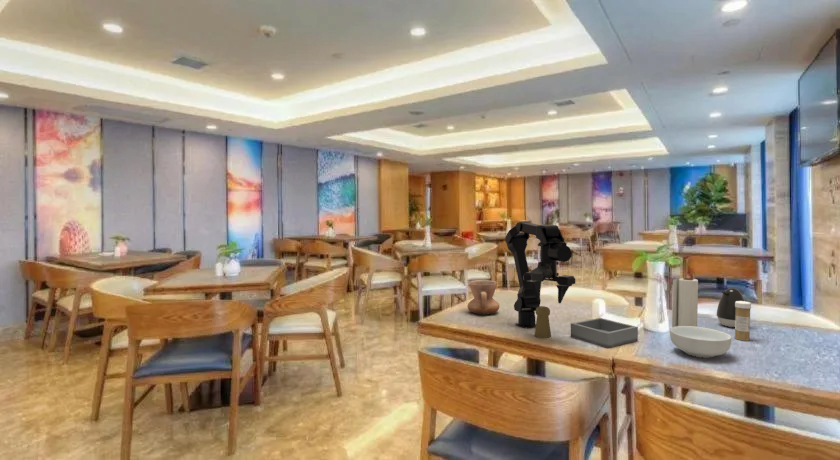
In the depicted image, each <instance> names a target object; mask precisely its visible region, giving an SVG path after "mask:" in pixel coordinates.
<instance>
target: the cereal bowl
mask: <svg viewBox="0 0 840 460" xmlns="http://www.w3.org/2000/svg"><path fill="white" fill-rule="evenodd" d="M669 335H670V336H669V337H670V341H671V342H672V344H673V345H674V346H675V347H676V348H677V349H679V350H680V351H683V352H684V353H685V354H686V355H689V356H691V355H692V357H695V356H696V357H697V358H702V357H703V359H704V358H705V359H708V358H709V359H711V358H713V357H715V356H721V355H722V356H723V355H724V354H726V353H727V352H728V351H729V350H730V348H731V346H732V336H731V335H730V334H728V333H726V332H723V331H721V330H716V329H713V328H708V327H702V326H697V327H695V326H676V327H673V328H672V327H671V328H670V329H669ZM710 357H711V358H710Z"/></svg>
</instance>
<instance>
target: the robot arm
mask: <svg viewBox="0 0 840 460" xmlns="http://www.w3.org/2000/svg"><path fill="white" fill-rule="evenodd" d="M530 235H532V236H534V237H535V238H536V239H537V240H539V241H540V242H538V244H537V246H538V247H540V257H539V259H540V261H539V262H538V263H537V267H534V268H533V269H532V270H531V271H530V270H529V269H530V268H529V264H528V260H527V256H526V248H527V246H528V240H529V239H530ZM504 239H505V243H506V247H507V249H508V250H509V252H511V254H512V255H513V260H514V266H515V270H516V274H517V275H516V276H517V280H518V285H519V290H518V292H517V299H516V301H515V303H514V304H513V309H514V311H516V312H517V314H518V315H517V316H518V317H517V318H518V321H517V323H515V326H519V327H521V328H524V329H529V328H534V327H535V328H536V308H537V307H540V305H541V290H542V282H544V281H550V282H556V283H557V284H556V285H555V287H556V288H557V301H558V302H557V303H558V304H562V301H563V300H564V297H565V295H566V293H567V291H568V289H569V288H570V287H572V285H576V278H575V276H574V275H569V274H568V275H566V274H564V275H560V273H559V272H557V271H558V269H557V267H558V265H559V262H561V263H566V262H569V260H570V259H571V258H572V256H573V252H572V250H571V248H570V247H569V246H567V242H566V241H565V238H564V236H563V234H562V232H561V230H560V228H559V226H558V225H557V224H547V225H546V224H543V225H542V224H536V223H533V222H529V221H518V222H517V223H516V224H515V226H514V227H512V228H511V229H509V230H508V232H507V233H506V235H505V238H504Z"/></svg>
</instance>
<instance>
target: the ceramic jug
mask: <svg viewBox="0 0 840 460" xmlns="http://www.w3.org/2000/svg"><path fill="white" fill-rule="evenodd" d="M469 288H470V290H471V293H472V296H473V298H472V299H471V300H470V301H469V302H467V309H468V310H469V311H470V312H471V313H474V314H477V315H484V314H485V315H492V314H495V313H497V312H498V311H499V310H500V304H499V302H498V301H497V300H496V299H494V295H495V292H496V288H497V281H493V280H490V279H488V280H487V279H486V280H484V279H478V280H476V279H475V280H472V281H469Z"/></svg>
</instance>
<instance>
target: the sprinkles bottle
mask: <svg viewBox="0 0 840 460" xmlns="http://www.w3.org/2000/svg"><path fill="white" fill-rule="evenodd" d="M735 308H736V312H735V328H734V338H735V340H737V341H738V340H739V341H745V342H746V341H750V340H751V338H750V337H751V335H750V333H751V308H752V303H751V302H750V301H736V302H735Z"/></svg>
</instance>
